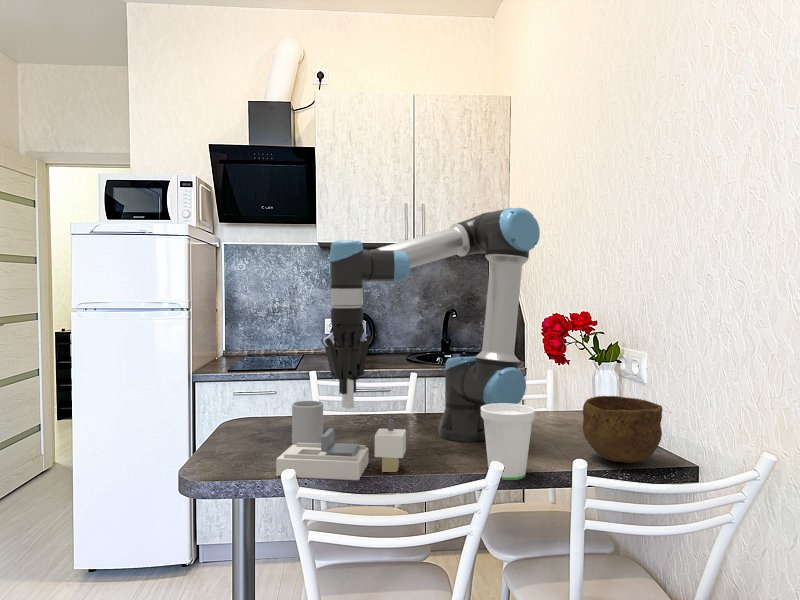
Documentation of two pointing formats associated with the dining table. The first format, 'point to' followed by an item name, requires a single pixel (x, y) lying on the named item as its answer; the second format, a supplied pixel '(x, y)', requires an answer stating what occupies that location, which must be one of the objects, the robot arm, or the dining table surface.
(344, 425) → the dining table surface
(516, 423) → the cup
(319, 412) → the mug
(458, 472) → the dining table surface
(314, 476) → the cream railed base block
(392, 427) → the plug
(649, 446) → the bowl
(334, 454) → the grey l-shaped bracket
